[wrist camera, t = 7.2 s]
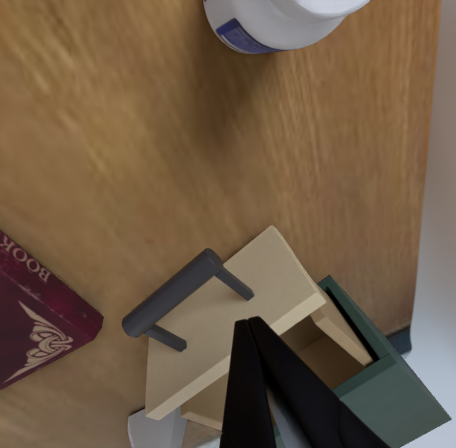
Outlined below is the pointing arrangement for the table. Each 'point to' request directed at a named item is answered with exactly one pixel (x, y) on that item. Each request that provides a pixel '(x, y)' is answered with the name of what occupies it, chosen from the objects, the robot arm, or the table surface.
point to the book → (37, 315)
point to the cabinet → (383, 385)
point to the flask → (156, 430)
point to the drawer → (224, 326)
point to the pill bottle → (276, 22)
